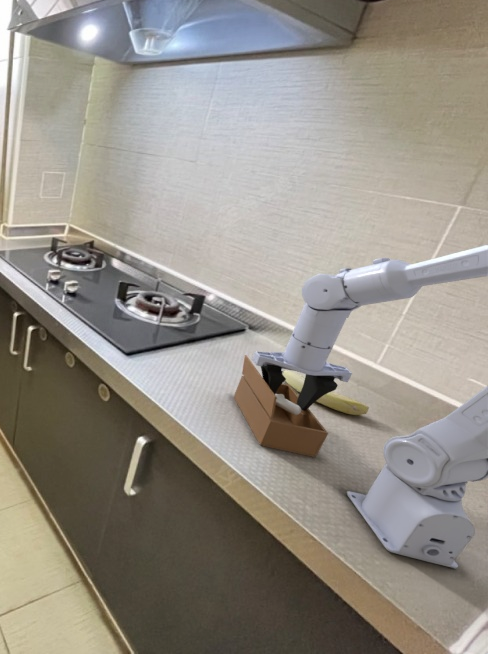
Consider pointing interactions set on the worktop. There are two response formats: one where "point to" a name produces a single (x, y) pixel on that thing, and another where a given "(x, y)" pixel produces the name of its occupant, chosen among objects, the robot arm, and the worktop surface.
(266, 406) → the brown box flap
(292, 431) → the carton
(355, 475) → the worktop surface
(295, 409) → the small white plastic part
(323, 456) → the worktop surface
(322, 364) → the robot arm
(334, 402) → the fruit
